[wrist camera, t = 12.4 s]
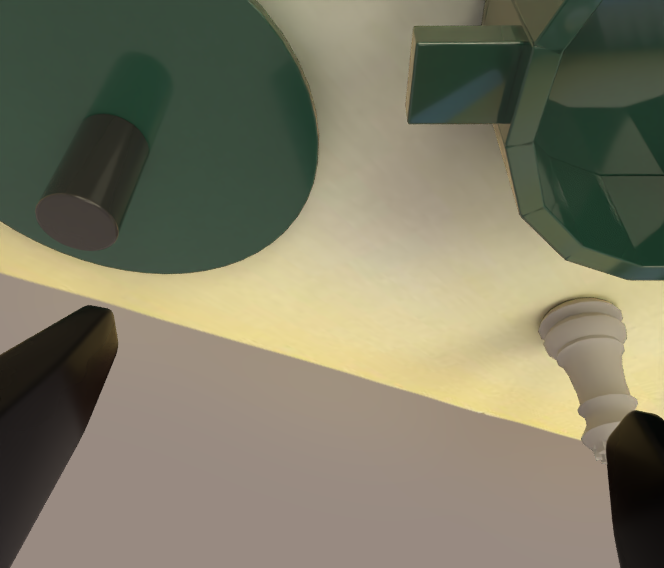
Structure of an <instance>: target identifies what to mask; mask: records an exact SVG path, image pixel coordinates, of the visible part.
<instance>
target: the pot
mask: <svg viewBox="0 0 664 568" xmlns="http://www.w3.org/2000/svg"><path fill="white" fill-rule="evenodd" d="M405 108H406V116H407V122H408V124H493V128H494V131H495V134H496V138H497V141H498V145H499V148H500V151H501V155H502V158H503V161H504V165H505V168H506V172H507V175H508V178H509V182H510V185H511V189H512V192H513V195H514V199H515V202H516V205H517V209H518V212H519V215H520V216H521V218H523V219H524V220H525V221H526V222H527V223H528V224H529V225H530V226H531V227H532V228H533V229H534V230H535V231H536V232H537V233H538V234H539V235H540V236H541V237H542V238H543V239H544V240H545V241H546V242H547V243H548V244H549V245H550V246H551V247H552V248H553V249H554V250H555V251H556V252H557V253H558V254H559V255H560V256H561V257H562V258H564V259H565V260H566V261H570V262H573V263H576V264H579V265H582V266H585V267H588V268H592V269H595V270H598V271H601V272H604V273H607V274H610V275H613V276H617V277H620V278H623V279H626V280H655V281H664V0H486V1H485V5H484V9H483V17H482V24H481V26H414V28H413V32H412V42H411V52H410V62H409V72H408V82H407V92H406V102H405Z"/></svg>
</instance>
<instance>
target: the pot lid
mask: <svg viewBox="0 0 664 568" xmlns="http://www.w3.org/2000/svg"><path fill="white" fill-rule="evenodd" d="M318 148H319V131H318V123H317V114H316V109H315V105H314V102H313V98H312V94H311V91H310V87H309V84H308V82H307V80H306V77H305V75H304V73H303V70H302V68H301V66H300V63H299V61H298V59H297V57H296V56H295V54H294V52H293V50H292V49H291V47H290V45H289V44H288V42H287V40H286V39H285V37H284V35H283V33H282V32H281V31H280V30H279V28H278V27H277V26H276V24H275V23H274V22H273V20H272V19H271V18H270V16H269V15H268V14H267V12H266V11H265V10H264V9H263V7H262V6H261V5H260V4H259V3H258V2H257V1H256V0H0V221H1V222H3V223H4V224H6V225H7V226H9V227H11V228H12V229H14V230H15V231H17V232H19V233H21V234H23V235H25V236H27V237H29V238H31V239H32V240H34V241H36V242H38V243H40V244H43V245H45V246H47V247H49V248H52V249H54V250H56V251H59V252H61V253H64V254H67V255H69V256H72V257H75V258H78V259H80V260H84V261H87V262H91V263H94V264H98V265H101V266H106V267H110V268H115V269H120V270H125V271H133V272H141V273H154V274H182V273H193V272H201V271H207V270H212V269H216V268H220V267H224V266H227V265H230V264H233V263H236V262H238V261H241V260H244V259H246V258H248V257H250V256H252V255H254V254H256V253H258V252H259V251H261V250H262V249H264V248H265V247H267V246H268V245H270V244H271V243H273V242H274V241H275V240H276V239H277V238H278V237H279V236H281V235H282V234H283V233H284V232H285V231H286V230H287V229H288V228H289V226H290V225H291V224H292V223H293V222H294V220H295V219H296V218H297V217H298V215H299V213H300V212H301V210H302V208H303V207H304V205H305V203H306V201H307V199H308V197H309V194H310V191H311V189H312V186H313V184H314V179H315V174H316V169H317V164H318Z"/></svg>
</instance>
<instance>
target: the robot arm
mask: <svg viewBox="0 0 664 568" xmlns="http://www.w3.org/2000/svg"><path fill="white" fill-rule="evenodd" d="M117 349H118V338H117V332H116V326H115V320H114V315H113V313H112V311H111V310H110V309H108V308H102V307H97V306H92V305H87V306H84V307H82V308H80V309H79V310H77V311H75V312H73V313H72V314H70V315H68V316H67V317H65V318H63V319H61V320H60V321H58V322H56V323H54V324H53V325H51V326H49V327H48V328H46V329H44V330H42V331H41V332H39V333H37V334H35V335H34V336H32V337H30V338H28V339H27V340H25V341H23V342H22V343H20V344H18V345H16V346H15V347H13V348H11V349H9V350H8V351H6V352H4V353H3V354H1V355H0V568H10V567H11V565H12V563H13V561H14V559H15V558H16V556H17V554H18V552H19V550H20V549H21V547H22V545H23V543H24V541H25V539H26V538H27V536H28V534H29V532H30V530H31V528H32V527H33V525H34V523H35V521H36V520H37V518H38V516H39V514H40V512H41V510H42V509H43V507H44V505H45V503H46V501H47V499H48V498H49V496H50V494H51V492H52V490H53V489H54V487H55V485H56V483H57V481H58V479H59V477H60V476H61V474H62V472H63V470H64V469H65V467H66V465H67V463H68V461H69V459H70V458H71V456H72V454H73V452H74V450H75V448H76V447H77V445H78V443H79V441H80V439H81V437H82V435H83V433H84V431H85V429H86V427H87V424H88V422H89V420H90V417H91V415H92V412H93V410H94V407H95V405H96V403H97V400H98V398H99V395H100V393H101V390H102V388H103V386H104V383H105V381H106V378H107V376H108V373H109V371H110V368H111V366H112V364H113V361H114V358H115V356H116V353H117ZM606 459H607V469H608V480H609V491H610V501H611V512H612V522H613V530H614V537H615V543H616V548H617V553H618V558H619V563H620V568H664V420H663V419H662V418H661V417H659V416H658V415H656V414H652V413H647V412H642V411H637V410H633V411H631V412H629V413H628V414H627V415H626V416H625V417H624V418H623V419H622V421H621V422H620V423H619V424H618V426H617V427H616V428H615V429H614V430H613V432H612V433H611V434H610V436H609V437H608V440H607V443H606Z"/></svg>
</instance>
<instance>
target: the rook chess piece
mask: <svg viewBox="0 0 664 568" xmlns="http://www.w3.org/2000/svg"><path fill="white" fill-rule="evenodd" d="M622 319H623V318H622V313H621V310H620V309H618V308H617V307H616V306H614V305H613V304H611V303H609V302H607V301H605V300H601V299H597V298H578V299H574V300H571V301H567V302H564V303H562V304H560V305H558V306H556V307H554V308H552V309H551V310H550V311H549V312H548V313H547V314H546V315H545V317H544V318H543V320H542V322H541V325H540V328H539V330H538V332H539V334H540V336H541V339H543V340H544V343H543V345H544V347H545V349H546V351H547V353H548V354H549V356H550V357H552V358H554V359H555V360H557V363H558V365H559V366H560V367H562V368H564V370H565V371H566V373H567V374H568V376H569V378H570V380H571V382H572V384H573V387H574V389H575V391H576V393H577V396H578V399H579V402H580V406H579V408H578V413H579V415H580V416H582V417H583V418H585V420H586V424H587V426H586V429H585V431H584V433H583V435H582V438H581V440H582V443H583V444H584V445H585V446H587V447H588V448H589V449H591V450H592V451H593V452H594V456H595V459H596V461H598V460H601V462H602V464H607V459H606V443H607V440H608V437H609V436H610V434H611V433H612V432H613V430H614V429H615V428H616V427H617V426H618V424H619V423H620V422H621V421H622V419H623V418H624V417H625V416H626V415H627V414H628V413H629V412H631V411H633V410H635V409H636V407H637V405H638V401H637V399H636V398H634V397H633V396H631V395H630V392H629V389H628V387H627V384H626V380H625V375H624V370H623V365H622V354H623V353H624V351H625V350H624V345H623V344H624V342H625V341H626V339H627V332H626V327H625V324H624V323H623V322H621V321H622Z"/></svg>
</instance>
